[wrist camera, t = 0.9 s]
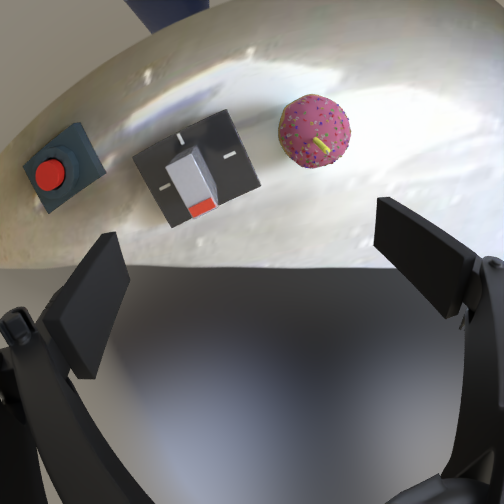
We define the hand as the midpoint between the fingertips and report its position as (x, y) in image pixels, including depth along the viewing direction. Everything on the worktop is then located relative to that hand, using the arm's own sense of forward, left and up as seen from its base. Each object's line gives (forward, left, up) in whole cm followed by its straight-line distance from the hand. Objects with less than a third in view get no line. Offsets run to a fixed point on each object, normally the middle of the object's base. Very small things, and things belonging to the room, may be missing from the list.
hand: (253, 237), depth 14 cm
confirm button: (+20, -10, -20) cm, 30 cm away
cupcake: (-10, 0, -24) cm, 26 cm away
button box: (+20, -10, -24) cm, 33 cm away
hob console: (+4, -1, -24) cm, 24 cm away
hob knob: (+4, -1, -21) cm, 21 cm away
